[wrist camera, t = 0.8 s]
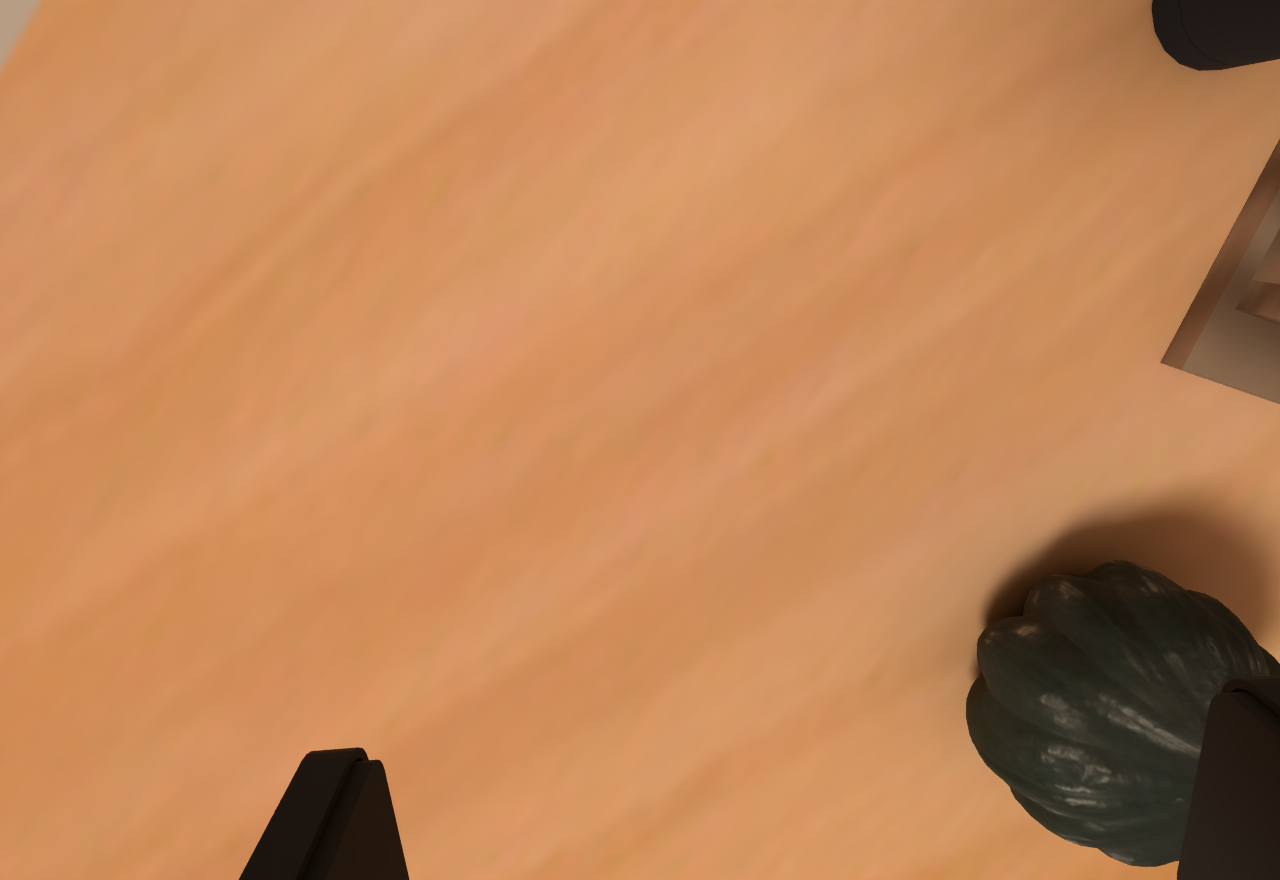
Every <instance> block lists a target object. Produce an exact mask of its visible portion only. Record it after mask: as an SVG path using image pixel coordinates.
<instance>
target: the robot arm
mask: <svg viewBox="0 0 1280 880" xmlns="http://www.w3.org/2000/svg"><path fill="white" fill-rule="evenodd" d="M239 880H409V876H408V871H407V867H406V863H405V858H404V854H403V849H402V845H401V840H400V836H399V832H398V827H397V823H396V818H395V814H394V809H393V805H392V800H391V796H390V792H389V787H388V783H387V778H386V774H385V770H384V766H383V764H382V762H381V761H380V760H369V759H368V756H367V754H366V752H365V751H364V749H363V748H346V749H334V750H321V751H311V752H309V753H308V754H306V756H305V757H304V759H303V760H302V761H301V763H300V765H299V767H298V769H297V771H296V773H295V775H294V777H293V778H292V780H291V782H290V784H289V786H288V788H287V790H286V792H285V793H284V795H283V797H282V799H281V801H280V803H279V805H278V807H277V809H276V810H275V812H274V814H273V816H272V818H271V820H270V822H269V824H268V825H267V827H266V829H265V831H264V833H263V835H262V837H261V839H260V841H259V842H258V844H257V846H256V848H255V850H254V852H253V854H252V856H251V857H250V859H249V861H248V863H247V865H246V867H245V869H244V871H243V873H242V874H241V876H240V878H239ZM1177 880H1280V675H1273V676H1260V677H1248V678H1236V679H1232V680H1229V681H1228V682H1227V683H1226V684H1225V685H1224V686H1223V688H1222V691H1221V694H1216V695H1215V696H1214V697H1213V698H1212V700H1211V702H1210V705H1209V711H1208V716H1207V721H1206V726H1205V731H1204V736H1203V742H1202V747H1201V752H1200V757H1199V762H1198V767H1197V773H1196V778H1195V783H1194V788H1193V793H1192V798H1191V804H1190V809H1189V814H1188V819H1187V824H1186V829H1185V835H1184V840H1183V845H1182V850H1181V855H1180V861H1179V866H1178V871H1177Z"/></svg>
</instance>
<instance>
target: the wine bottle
mask: <svg viewBox="0 0 1280 880" xmlns="http://www.w3.org/2000/svg"><path fill="white" fill-rule="evenodd" d="M1152 14H1153V22H1154V29H1155V33H1156V35H1157V36H1158V38H1159V40H1160V42H1161V44H1162V46H1163V48H1164V50H1165V51H1166V52H1167V53H1168V54H1169V55H1170V56H1172V57H1173V58H1174V59H1175V60H1176V61H1177V62H1178V63H1179V64H1182V65H1185V66H1187V67H1190V68H1193V69H1196V70H1199V71H1200V70H1222V69H1228V68H1233V67H1238V66H1244V65H1249V64H1255V63H1260V62H1265V61H1271V60H1276V59H1280V0H1153V3H1152Z"/></svg>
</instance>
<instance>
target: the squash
mask: <svg viewBox="0 0 1280 880" xmlns="http://www.w3.org/2000/svg"><path fill="white" fill-rule="evenodd" d="M977 658H978V664H979V666H980V669H981V671H982V674H981V675H980V676H979V677H978V678H977V679H976V680H975V682H974V683H973V685H972V686H971V689H970V691H969V694H968V697H967V701H966V719H967V724H968V729H969V734H970V737H971V739H972V742H973V743H974V745H975V747H976V749H977V751H978V753H979V755H980V756H981V758H982V759H983V761H984V762H985V763H986V765H987V766H988V767H989V768H990V769H991V770H992V771H993V772H994V773H995V774H996V775H998V776H999V777H1000V778H1001V779H1003V780H1004V781H1005V782H1006V783H1007V784H1008V785H1009V786H1010V789H1011V791H1012V793H1013V795H1014V797H1015V799H1016V800H1017V801H1018V802H1019V803H1020V804H1021V805H1022V806H1023V808H1024V809H1025V810H1026V811H1027V812H1028V813H1029V814H1030V816H1032V817H1033V818H1034V819H1035V820H1037V821H1038V822H1039V823H1040V824H1042V825H1043V826H1044V827H1045V828H1046V829H1048V830H1049V831H1051V832H1053V833H1054V834H1056V835H1058V836H1060V837H1061V838H1063V839H1065V840H1067V841H1070V842H1072V843H1075V844H1078V845H1081V846H1087V847H1093V848H1098V849H1099V850H1101V851H1102V852H1103V853H1105V854H1106V855H1108V856H1109V857H1111V858H1113V859H1116V860H1118V861H1121V862H1123V863H1126V864H1128V865H1132V866H1142V867H1156V866H1161V865H1165V864H1168V863H1171V862H1174V861H1180V855H1181V850H1182V845H1183V840H1184V835H1185V829H1186V824H1187V819H1188V814H1189V809H1190V804H1191V798H1192V793H1193V788H1194V783H1195V778H1196V773H1197V767H1198V762H1199V757H1200V752H1201V747H1202V742H1203V736H1204V731H1205V726H1206V721H1207V716H1208V711H1209V705H1210V702H1211V700H1212V698H1213V697H1214V696H1215V695H1216V694H1221V691H1222V688H1223V686H1224V685H1225V684H1226V683H1227V682H1228V681H1229V680H1232V679H1236V678H1248V677H1260V676H1273V675H1280V664H1279V663H1278V661H1277V660H1276V659H1275V658H1274V657H1273V656H1272V655H1271V654H1269V653H1268V652H1267V651H1266V650H1265V649H1264V648H1262V647H1261V646H1260V645H1258V643H1257V642H1256V640H1255V639H1254V637H1253V636H1252V634H1251V633H1250V632H1249V630H1248V629H1247V628H1246V627H1245V626H1244V624H1243V623H1242V622H1241V621H1240V619H1239V618H1238V617H1237V616H1236V615H1235V614H1234V613H1232V612H1231V611H1230V610H1229V609H1228V608H1227V607H1225V606H1224V605H1223V604H1222V603H1220V602H1219V601H1218V600H1216V599H1214V598H1212V597H1210V596H1208V595H1206V594H1203V593H1199V592H1195V591H1191V590H1184V589H1183V588H1182V587H1180V586H1179V585H1177V584H1176V583H1174V582H1173V581H1171V580H1170V579H1168V578H1167V577H1165V576H1164V575H1162V574H1160V573H1158V572H1156V571H1154V570H1151V569H1148V568H1146V567H1143V566H1140V565H1137V564H1134V563H1131V562H1128V561H1116V560H1115V561H1111V562H1107V563H1104V564H1101V565H1099V566H1097V567H1096V568H1095V569H1093V570H1092V571H1091V572H1089V573H1088V574H1087V575H1086V576H1085V577H1084V578H1083V577H1077V576H1072V575H1061V574H1052V575H1047V576H1045V577H1043V578H1042V579H1041V580H1039V581H1038V582H1037V583H1036V584H1035V585H1034V586H1033V588H1032V589H1031V591H1030V592H1029V594H1028V597H1027V599H1026V602H1025V605H1024V610H1023V616H1020V617H1006V618H1002V619H999V620H997V621H995V622H993V623H991V624H990V625H989V626H988V627H987V628H986V629H985V630H984V631H983V632H982V634H981V635H980V637H979V638H978V642H977Z"/></svg>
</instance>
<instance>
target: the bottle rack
mask: <svg viewBox="0 0 1280 880" xmlns="http://www.w3.org/2000/svg"><path fill="white" fill-rule="evenodd" d="M1161 363H1163V364H1166V365H1168V366H1171V367H1174V368H1177V369H1180V370H1183V371H1186V372H1189V373H1192V374H1194V375H1197V376H1200V377H1203V378H1206V379H1209V380H1212V381H1215V382H1218V383H1220V384H1223V385H1226V386H1229V387H1232V388H1235V389H1238V390H1241V391H1244V392H1247V393H1249V394H1252V395H1255V396H1258V397H1261V398H1264V399H1267V400H1270V401H1273V402H1275V403H1278V404H1280V140H1279V142H1278V144H1277V146H1276V148H1275V150H1274V151H1273V153H1272V155H1271V157H1270V159H1269V161H1268V163H1267V165H1266V166H1265V168H1264V170H1263V172H1262V174H1261V176H1260V178H1259V180H1258V181H1257V183H1256V185H1255V187H1254V189H1253V191H1252V193H1251V195H1250V196H1249V198H1248V200H1247V202H1246V204H1245V206H1244V208H1243V210H1242V211H1241V213H1240V215H1239V217H1238V219H1237V221H1236V223H1235V225H1234V226H1233V228H1232V230H1231V232H1230V234H1229V236H1228V238H1227V239H1226V241H1225V243H1224V245H1223V247H1222V249H1221V251H1220V253H1219V254H1218V256H1217V258H1216V260H1215V262H1214V264H1213V266H1212V268H1211V269H1210V271H1209V273H1208V275H1207V277H1206V279H1205V281H1204V283H1203V284H1202V286H1201V288H1200V290H1199V292H1198V294H1197V296H1196V298H1195V299H1194V301H1193V303H1192V305H1191V307H1190V309H1189V311H1188V313H1187V314H1186V316H1185V318H1184V320H1183V322H1182V324H1181V326H1180V328H1179V329H1178V331H1177V333H1176V335H1175V337H1174V339H1173V341H1172V343H1171V344H1170V346H1169V348H1168V350H1167V352H1166V354H1165V356H1164V357H1163V359H1162V361H1161Z"/></svg>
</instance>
